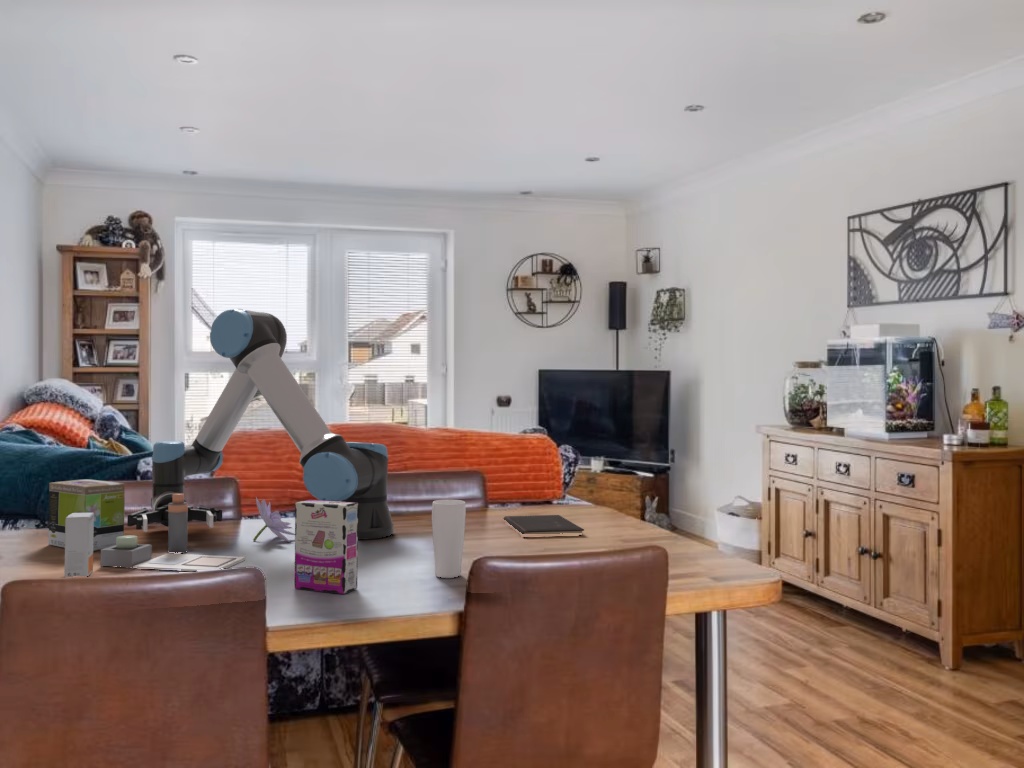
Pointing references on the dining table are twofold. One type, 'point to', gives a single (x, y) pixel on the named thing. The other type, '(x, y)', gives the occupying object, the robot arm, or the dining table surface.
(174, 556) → the board
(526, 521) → the hardcover book
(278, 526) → the water lily
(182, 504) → the grey and orange bottle
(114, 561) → the button housing
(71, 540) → the skincare box
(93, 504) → the tea box
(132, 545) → the button
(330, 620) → the dining table surface
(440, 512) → the drinking glass
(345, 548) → the candy bar box
